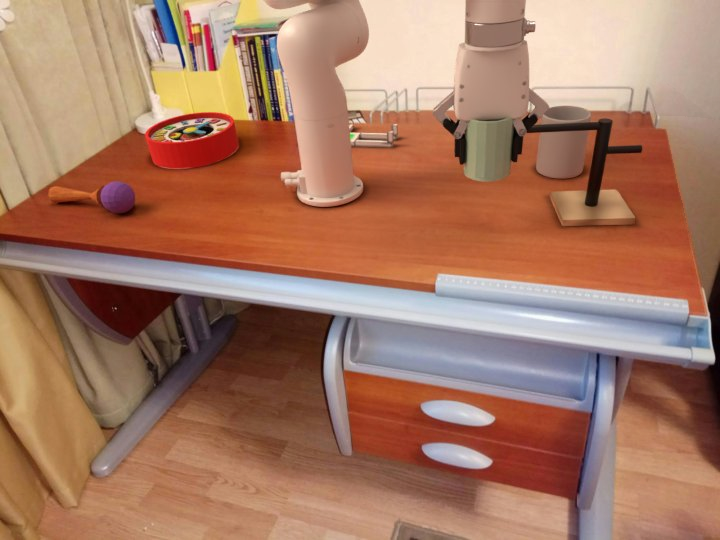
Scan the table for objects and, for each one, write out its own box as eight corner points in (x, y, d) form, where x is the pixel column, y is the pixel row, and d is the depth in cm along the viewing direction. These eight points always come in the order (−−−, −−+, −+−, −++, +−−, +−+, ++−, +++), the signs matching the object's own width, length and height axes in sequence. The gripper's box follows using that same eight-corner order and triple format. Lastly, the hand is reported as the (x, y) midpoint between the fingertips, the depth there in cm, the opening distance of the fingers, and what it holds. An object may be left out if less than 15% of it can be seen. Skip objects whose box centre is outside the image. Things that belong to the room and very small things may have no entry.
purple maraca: (64, 176, 111) (138, 178, 103) (72, 204, 114) (145, 208, 106) (38, 183, 106) (113, 186, 98) (47, 213, 109) (121, 218, 101)
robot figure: (403, 129, 129) (315, 127, 135) (402, 115, 127) (313, 114, 133) (386, 157, 116) (290, 154, 122) (385, 142, 114) (288, 139, 120)
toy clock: (125, 136, 123) (191, 108, 136) (134, 160, 126) (197, 131, 140) (187, 148, 113) (251, 117, 127) (194, 174, 117) (256, 141, 130)
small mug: (513, 181, 80) (518, 120, 75) (465, 182, 81) (466, 123, 76) (503, 150, 89) (507, 95, 84) (460, 152, 90) (461, 97, 85)
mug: (579, 181, 100) (588, 122, 94) (531, 176, 103) (537, 119, 97) (588, 156, 109) (597, 101, 102) (543, 152, 112) (550, 98, 106)
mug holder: (513, 227, 88) (522, 136, 80) (505, 199, 97) (512, 113, 88) (637, 224, 86) (659, 130, 78) (618, 195, 94) (636, 107, 86)
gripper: (556, 23, 74) (542, 147, 84) (426, 32, 76) (428, 152, 86) (568, 35, 68) (552, 168, 78) (427, 44, 70) (429, 172, 80)
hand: (487, 159), depth 82 cm, fingers closed on small mug, 7 cm apart
